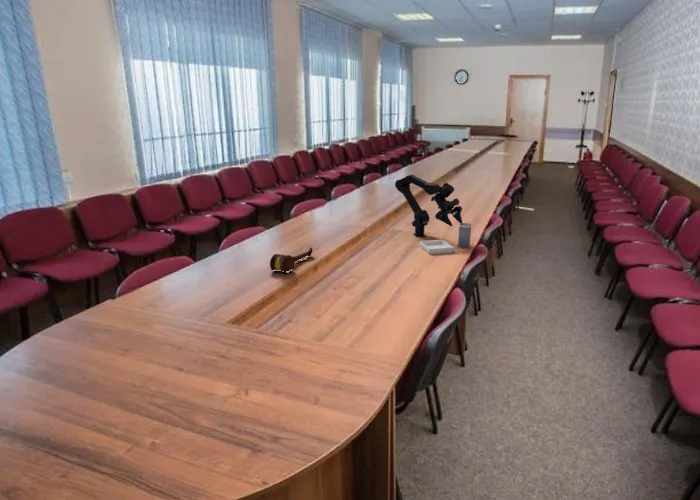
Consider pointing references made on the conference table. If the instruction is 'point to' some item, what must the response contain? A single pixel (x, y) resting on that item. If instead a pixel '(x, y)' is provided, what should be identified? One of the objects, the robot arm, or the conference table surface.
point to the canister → (464, 235)
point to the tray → (436, 247)
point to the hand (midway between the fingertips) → (456, 224)
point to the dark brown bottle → (286, 261)
